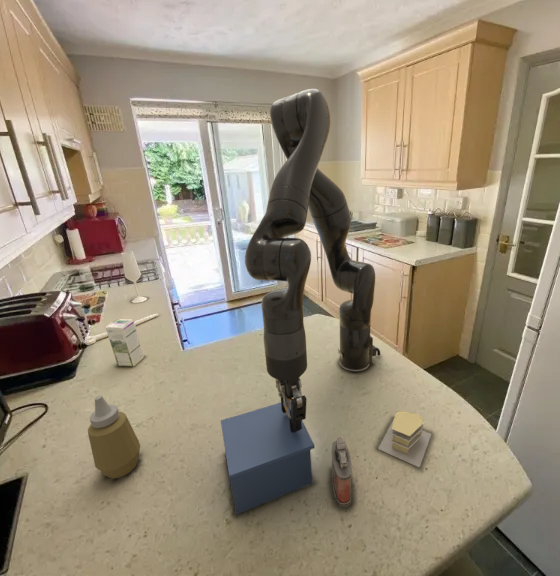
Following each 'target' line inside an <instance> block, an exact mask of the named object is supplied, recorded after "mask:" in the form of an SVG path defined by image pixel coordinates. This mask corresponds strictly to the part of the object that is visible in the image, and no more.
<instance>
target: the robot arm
mask: <svg viewBox="0 0 560 576" xmlns="http://www.w3.org/2000/svg"><path fill="white" fill-rule="evenodd" d="M330 111H331V110H330V106H329V104H328V101H327V99H326V97H325V95H324V93H323V92H321V90H320V89H318V88H307V89H304V90H302V91H299V92H296V93H293V94H291V95H288V96H284V97H282V98H279V99H276V100H275V101H273V102H272V104H271V105H270V109H269V116H270V122H271V126H272V129H273V132H274V135H275V138H276V139H277V142H278V144H279V146H280V148H281V150H282V152H283V154H284V156H285V157H286V158H285V159H286V160H285V162H284V163H283V165H282V166H281V167H280V169H279V170H278V172H277V173H276V175H275V177H274V179H273V181H272V183H271V186H270V191H269V196H268V200H267V204H266V209H265V213H264V215H263V217H262V219H261V220H260V222H259V224H258V226H257V227H256V229H255V231H254V233H253V234H252V236H251V238H250V239H249V242H248V244H247V247H246V249H245V253H244V266H245V269H246V272H247V274H249V276H250V277H251V278H252V279H254V280H256V281H267V282H287V287H286V288H282V289H276V290H272V291H269V292H267V293H266V294H265V295H264V296H263V297H262V298H261V313H262V323H263V324H262V325H263V347H264V354H265V365H266V372H267V374H268V375H269V376H270V377H271V378H273V379H275V388H276V390H277V392H278V396H279V397H280V402H281V408H282V412H283V413H286V410H285V408H284V405H285V406H286V407H287V410H288V417H289V425H290V431H291V432H292V433H293V432H296V431H299V430H301V429H302V424H301V420H302V421H303V420H306V419H307V400H308V399H307V397H306V395H303V392H302V385H303V384H302V380H301V378H300V377H301V376H302V375H303V374H305V372H306V371H307V368H308V355H307V354H308V353H307V335H306V330H305V324H304V306H303V305H304V293H305V289H306V288H305V287H306V283H307V278H308V275H309V272H310V268H311V263H312V251H311V249H310V246H309V245H308V243H307V242H306V241H305V240H304V239H301V238H298V237H289V236H293V235H296V234H300V233H301V232H303V230H304V229H305V226H306V223H307V218H308V212H309V215H310V217H311V220H312V222H313V225H314V227H315V229H316V231H317V234H318V237H319V238H320V243H321V245H322V247H323V250H324V253H325V256H326V259H327V264H328V267H329V272H330V273H331V274H330V275H331V278H332V281H333V284H334V285H335V287H336V288H337V289H338V290H340V291H343V292H346V293H348V294H352V299H348V300H345V301H343V302H342V303H340V305H339V310H338V311H339V312H338V313H339V348H338V349H337V351H338V352H337V353H338V355H339V366H340V367H341V368H342V369H343V370H344V371H347V372H351V373H360V372H363V371H367V369H369V367H370V366H372V365H373V357H377V356H378V357H380V356H381V349H379V347H376V346H375V345H374V337H372V335H371V322H372V320H371V319H372V308H373V305H374V298H375V287H376V271H375V268H374V266H373V265H372V264H370V263H367V262H364V261H358V260H355V259H352V258H351V257H350V255H349V252H348V249H347V243H346V242H347V239H348V235H349V232H350V229H351V225H352V215H351V211H350V208H349V205H348V202H347V198H346V195H345V193H344V192H343V190H342V189H341V188H340V187H339V186H338V184H336V182H334V181H333V180H332V179H331V178H330V177H328V176H327V175H326V174H325V173H324V172H323V171H321V169H320V168H318V167H319V164H320V162H321V160H322V156H323V154H324V150H325V147H326V145H327V142H328V140H329V136H330V131H331V125H332V119H331V118H332V117H331V112H330ZM287 399H291V400H289V401H287ZM283 402H284V405H283Z"/></svg>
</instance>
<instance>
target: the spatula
mask: <svg viewBox="0 0 560 576" xmlns="http://www.w3.org/2000/svg"><path fill="white" fill-rule="evenodd" d="M158 316H159V314H158V313H153V314H150V315H148V316H145V317H143V318H140V319H137V320H134V323H135V326H137V325H140V324H143V323H146V322H147V321H150V320H152V319H154V318H156V317H158ZM107 337H108V334H107V331H105V332H102V333H99V334H96V335H88V336H85V337H84V339H85V341H86V343H85V344H84V345H86V346H91V345H94V344H95V343H96V342H97V341H99V340H101V339H104V338H107Z"/></svg>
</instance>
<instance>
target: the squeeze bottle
mask: <svg viewBox="0 0 560 576" xmlns="http://www.w3.org/2000/svg"><path fill="white" fill-rule="evenodd" d="M89 422H90V424H89V426H88V428H87V435H88V440H89V444H90V445H89V446H90V448H91V455H92V457H93V462H94V467H95V468H96V470H98V471H100V473H102V474H103V475H105V476H106V477H108V478H109V479H120V478H122V477H125V476H126V475H128V474H129V473H131V472H132V471H133V470H134V469H135V468H136V466H137V464H138V462H139V458H140V457H139V456H140V449H141V444H140V440H139V439H138V436H137V434H136V433H135V430H134V429H133V426H132V424H131V422H130V420H129V418H128V416H127V414H126V413H124V412H123V411H119V408H118V406H117V405H115V404H109V403H108V402H107V400H106V399H105V398H104V397H103V395H97V396H95V397H94V411H93V412H92V413H91V414H90V415H89Z"/></svg>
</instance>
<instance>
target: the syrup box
mask: <svg viewBox="0 0 560 576" xmlns="http://www.w3.org/2000/svg"><path fill="white" fill-rule="evenodd" d="M134 322H135V320H134V319H129V318H128V319H127V318H126V319H123V318H121V319H120V318H117V319H115V320H113V321H112V322H110V323H109V324H108V325H106V326H105V330H106V331H105V332H107V334H108V336H107V337H108V340H109V343H110V347H111V349H112V352H113V356H114V358H115V362H116V364H117V367H135V366H136V365H137V364H138V363H140V362H141V361H142V360H143V359H144V358H145V355H144V352H143V348H142V345H141V342H140V338H139V334H138V331H137V327H136V325H135V323H134Z"/></svg>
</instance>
